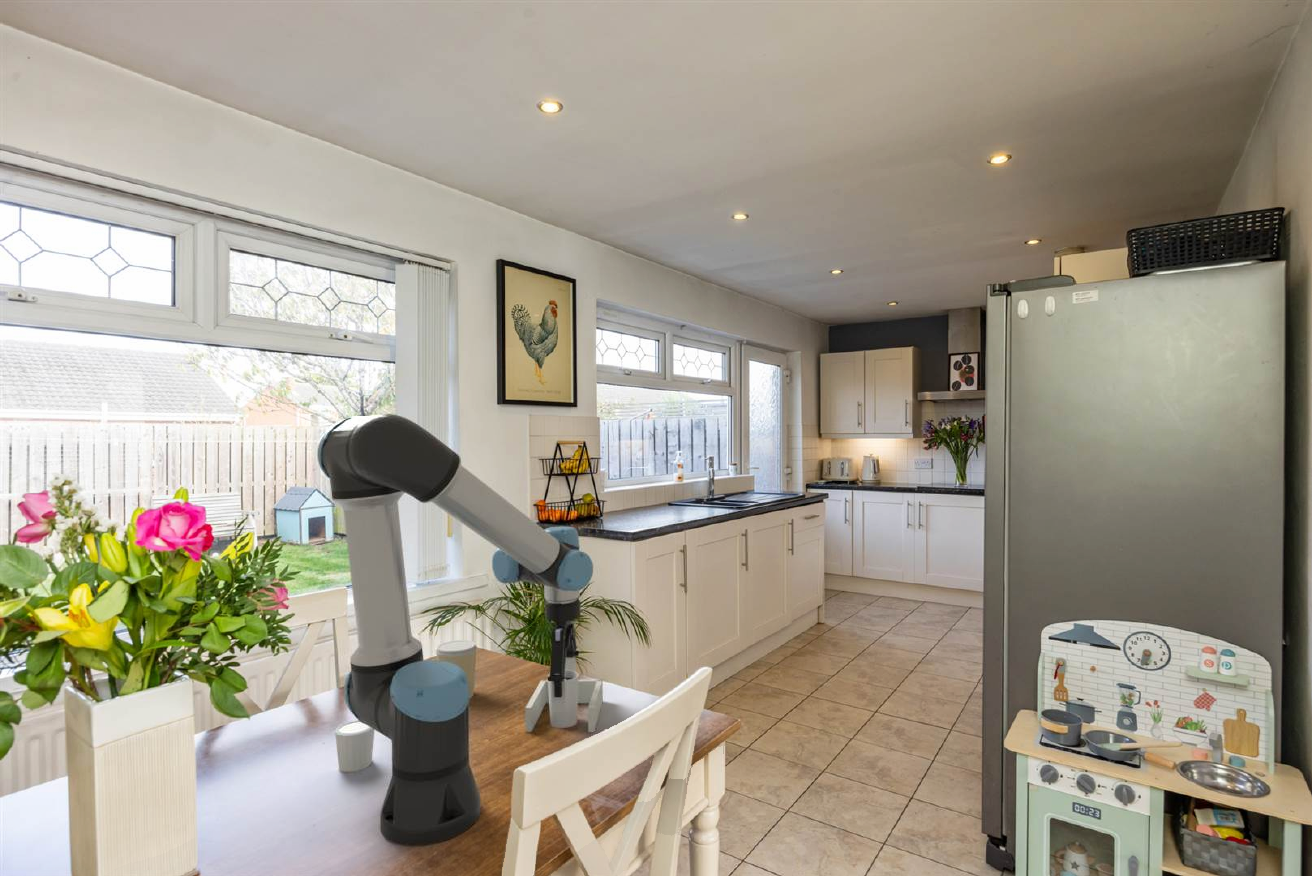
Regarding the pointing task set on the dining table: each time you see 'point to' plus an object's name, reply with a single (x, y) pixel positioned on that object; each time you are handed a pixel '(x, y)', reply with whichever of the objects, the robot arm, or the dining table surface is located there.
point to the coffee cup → (460, 658)
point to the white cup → (570, 715)
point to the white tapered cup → (354, 746)
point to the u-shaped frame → (586, 694)
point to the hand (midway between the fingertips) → (564, 698)
